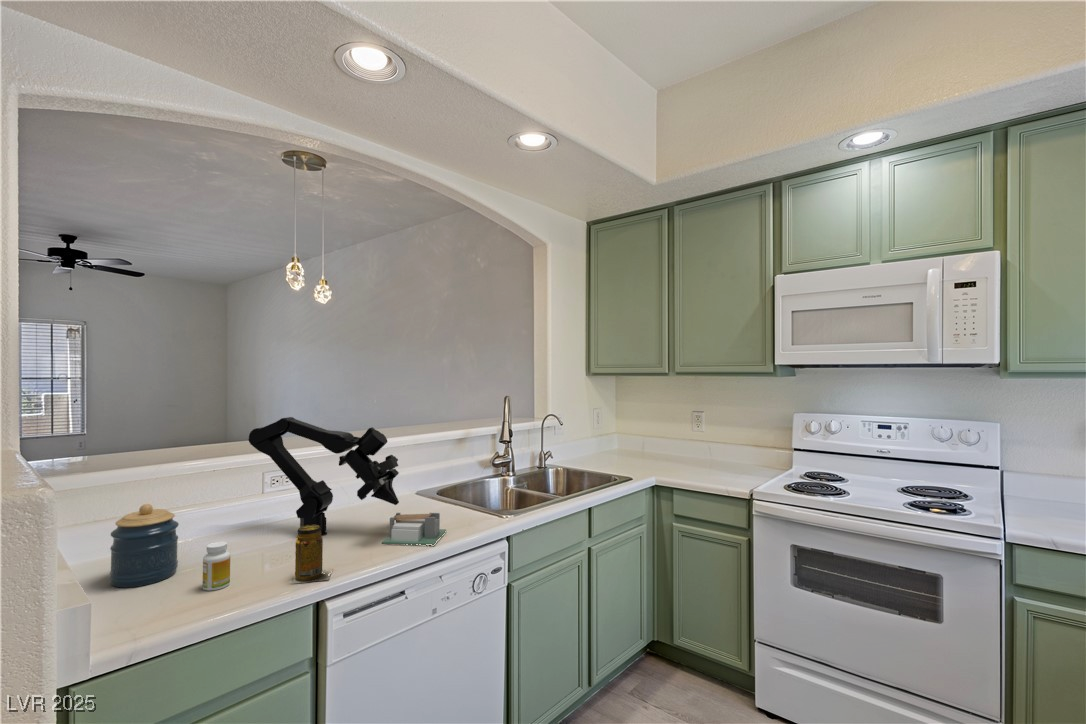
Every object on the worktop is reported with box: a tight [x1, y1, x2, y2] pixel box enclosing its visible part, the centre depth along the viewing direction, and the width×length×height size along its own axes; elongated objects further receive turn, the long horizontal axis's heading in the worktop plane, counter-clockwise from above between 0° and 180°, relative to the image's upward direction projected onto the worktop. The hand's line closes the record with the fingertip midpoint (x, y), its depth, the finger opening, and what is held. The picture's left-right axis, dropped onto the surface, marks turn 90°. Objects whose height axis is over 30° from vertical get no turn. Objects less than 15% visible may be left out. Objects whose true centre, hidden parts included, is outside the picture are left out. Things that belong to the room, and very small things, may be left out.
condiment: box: [289, 525, 334, 585], centre depth 123 cm, size 7×8×12 cm
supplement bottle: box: [202, 541, 231, 592], centre depth 117 cm, size 5×5×10 cm
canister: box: [109, 503, 180, 588], centre depth 122 cm, size 13×13×18 cm
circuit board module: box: [381, 512, 447, 546], centre depth 151 cm, size 16×13×7 cm
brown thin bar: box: [393, 513, 432, 521], centre depth 151 cm, size 1×3×12 cm
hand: (397, 503), depth 152 cm, fingers closed
